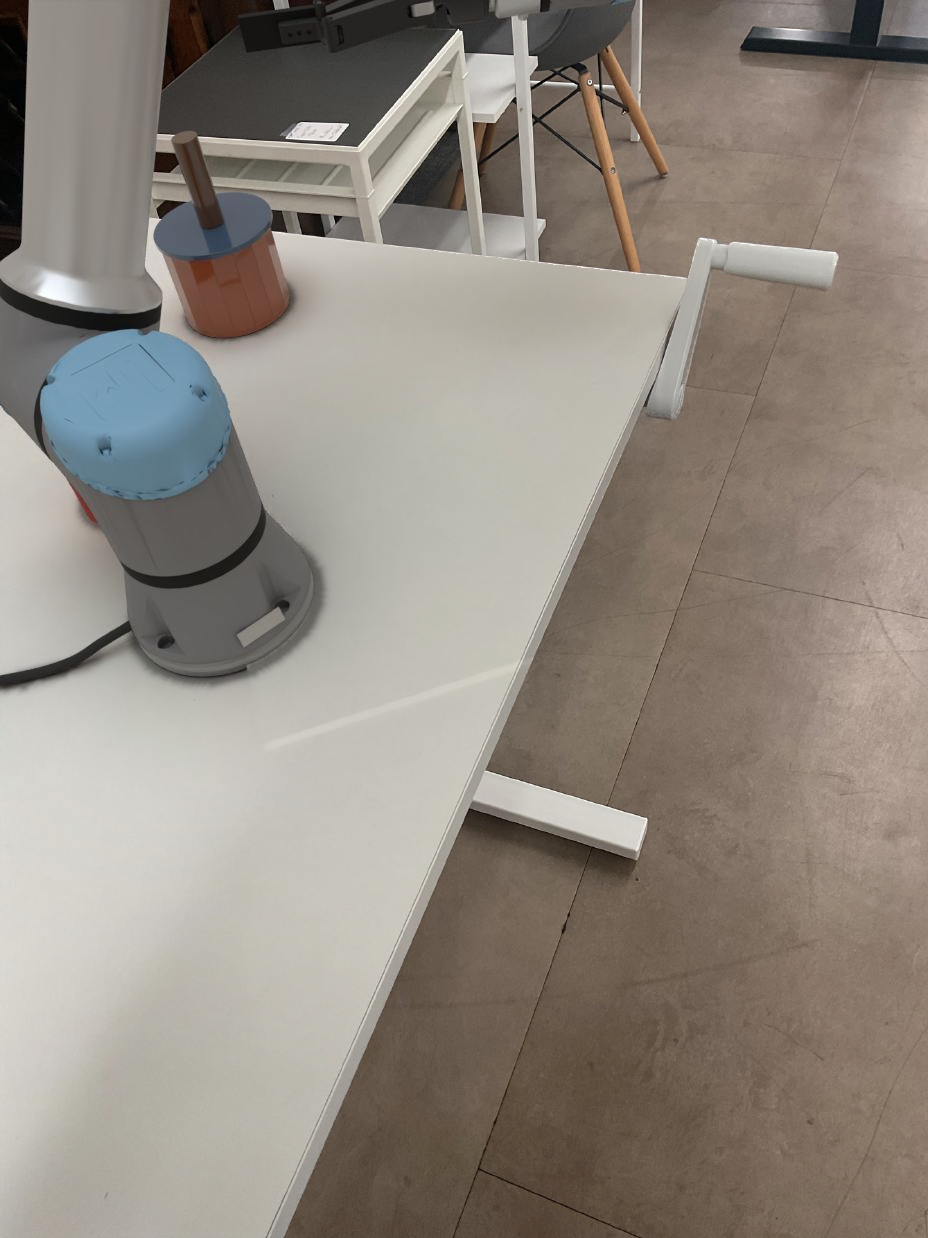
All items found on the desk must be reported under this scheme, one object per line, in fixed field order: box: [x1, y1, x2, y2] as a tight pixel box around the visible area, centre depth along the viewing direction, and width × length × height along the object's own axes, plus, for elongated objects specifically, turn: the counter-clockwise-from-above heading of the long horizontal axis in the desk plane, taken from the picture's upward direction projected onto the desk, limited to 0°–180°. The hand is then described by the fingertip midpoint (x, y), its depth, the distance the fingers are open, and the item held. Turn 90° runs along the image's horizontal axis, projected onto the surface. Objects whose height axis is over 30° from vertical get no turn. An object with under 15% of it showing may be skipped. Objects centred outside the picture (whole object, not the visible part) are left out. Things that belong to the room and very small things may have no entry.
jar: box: [162, 226, 291, 339], centre depth 110 cm, size 12×12×10 cm
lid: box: [152, 130, 274, 261], centre depth 103 cm, size 13×13×10 cm
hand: (249, 3), depth 90 cm, fingers open, 13 cm apart
